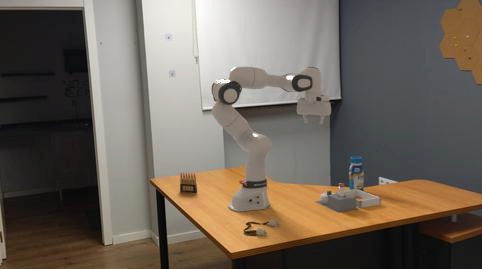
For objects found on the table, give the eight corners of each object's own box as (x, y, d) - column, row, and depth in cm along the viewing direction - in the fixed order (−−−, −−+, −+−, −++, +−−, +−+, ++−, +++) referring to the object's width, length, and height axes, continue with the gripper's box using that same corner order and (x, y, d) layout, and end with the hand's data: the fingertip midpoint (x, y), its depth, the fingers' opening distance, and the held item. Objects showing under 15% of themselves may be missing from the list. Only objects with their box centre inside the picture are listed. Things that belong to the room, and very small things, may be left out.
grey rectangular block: (338, 215, 228) (338, 200, 227) (314, 204, 248) (314, 190, 247) (358, 211, 233) (358, 197, 232) (333, 201, 253) (333, 187, 252)
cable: (233, 233, 210) (233, 226, 209) (249, 222, 224) (248, 215, 224) (265, 238, 203) (265, 230, 203) (279, 226, 218) (279, 219, 217)
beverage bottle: (352, 188, 277) (352, 155, 274) (366, 190, 272) (366, 156, 269) (346, 192, 270) (346, 158, 267) (360, 193, 265) (360, 159, 262)
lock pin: (341, 208, 234) (341, 184, 233) (338, 207, 237) (338, 183, 235) (345, 208, 235) (345, 183, 234) (342, 206, 237) (342, 182, 236)
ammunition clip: (180, 192, 284) (179, 172, 282) (181, 191, 285) (180, 172, 284) (196, 193, 280) (195, 173, 279) (197, 192, 282) (196, 172, 280)
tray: (360, 210, 235) (360, 201, 234) (336, 201, 253) (336, 192, 252) (380, 207, 240) (380, 197, 239) (356, 197, 258) (356, 189, 257)
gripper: (293, 97, 253) (294, 123, 255) (325, 98, 239) (326, 125, 241) (301, 96, 258) (301, 121, 259) (332, 97, 243) (332, 123, 245)
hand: (313, 123), depth 250 cm, fingers open, 8 cm apart
